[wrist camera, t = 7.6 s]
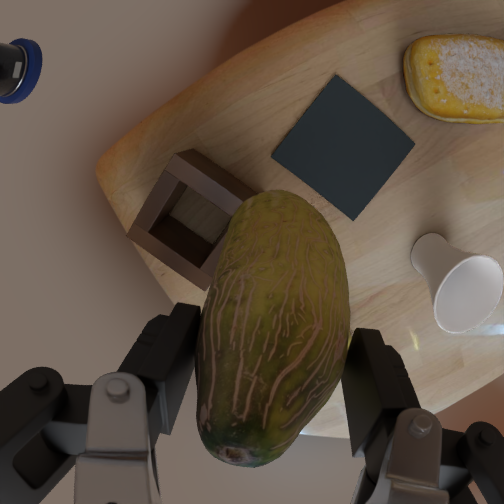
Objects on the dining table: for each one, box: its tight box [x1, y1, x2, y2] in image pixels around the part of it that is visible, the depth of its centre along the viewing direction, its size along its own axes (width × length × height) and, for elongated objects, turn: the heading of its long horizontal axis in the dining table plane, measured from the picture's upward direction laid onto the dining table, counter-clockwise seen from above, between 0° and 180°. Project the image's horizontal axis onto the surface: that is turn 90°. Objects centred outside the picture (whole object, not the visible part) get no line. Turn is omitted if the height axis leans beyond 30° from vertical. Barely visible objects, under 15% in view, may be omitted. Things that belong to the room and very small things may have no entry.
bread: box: [403, 33, 504, 124], centre depth 29 cm, size 13×26×8 cm, turn 105°
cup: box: [411, 233, 503, 333], centre depth 37 cm, size 10×10×14 cm
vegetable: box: [194, 190, 350, 468], centre depth 15 cm, size 6×6×20 cm
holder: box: [126, 148, 258, 291], centre depth 40 cm, size 12×12×8 cm
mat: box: [271, 75, 415, 221], centre depth 39 cm, size 14×14×1 cm
